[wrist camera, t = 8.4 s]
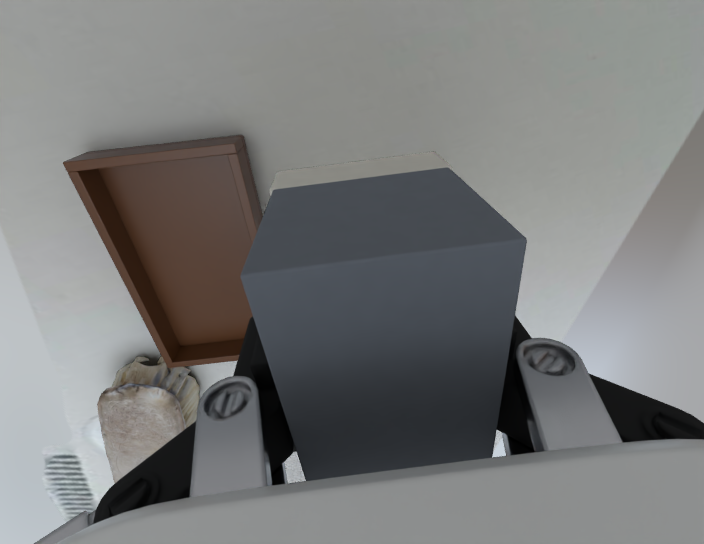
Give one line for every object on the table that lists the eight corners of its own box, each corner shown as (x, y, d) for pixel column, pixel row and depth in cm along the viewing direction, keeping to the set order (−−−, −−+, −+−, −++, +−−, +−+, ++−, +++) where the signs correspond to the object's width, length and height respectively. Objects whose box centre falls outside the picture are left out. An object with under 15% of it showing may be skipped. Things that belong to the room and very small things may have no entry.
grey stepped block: (276, 171, 10) (231, 276, 5) (435, 150, 10) (535, 237, 5) (331, 423, 16) (334, 581, 11) (432, 410, 16) (478, 563, 11)
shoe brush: (208, 493, 45) (196, 539, 41) (145, 492, 44) (126, 539, 40) (200, 353, 33) (181, 397, 29) (112, 346, 32) (79, 391, 28)
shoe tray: (86, 151, 23) (61, 162, 21) (243, 134, 23) (234, 143, 21) (178, 347, 32) (167, 368, 30) (291, 334, 32) (288, 354, 30)
